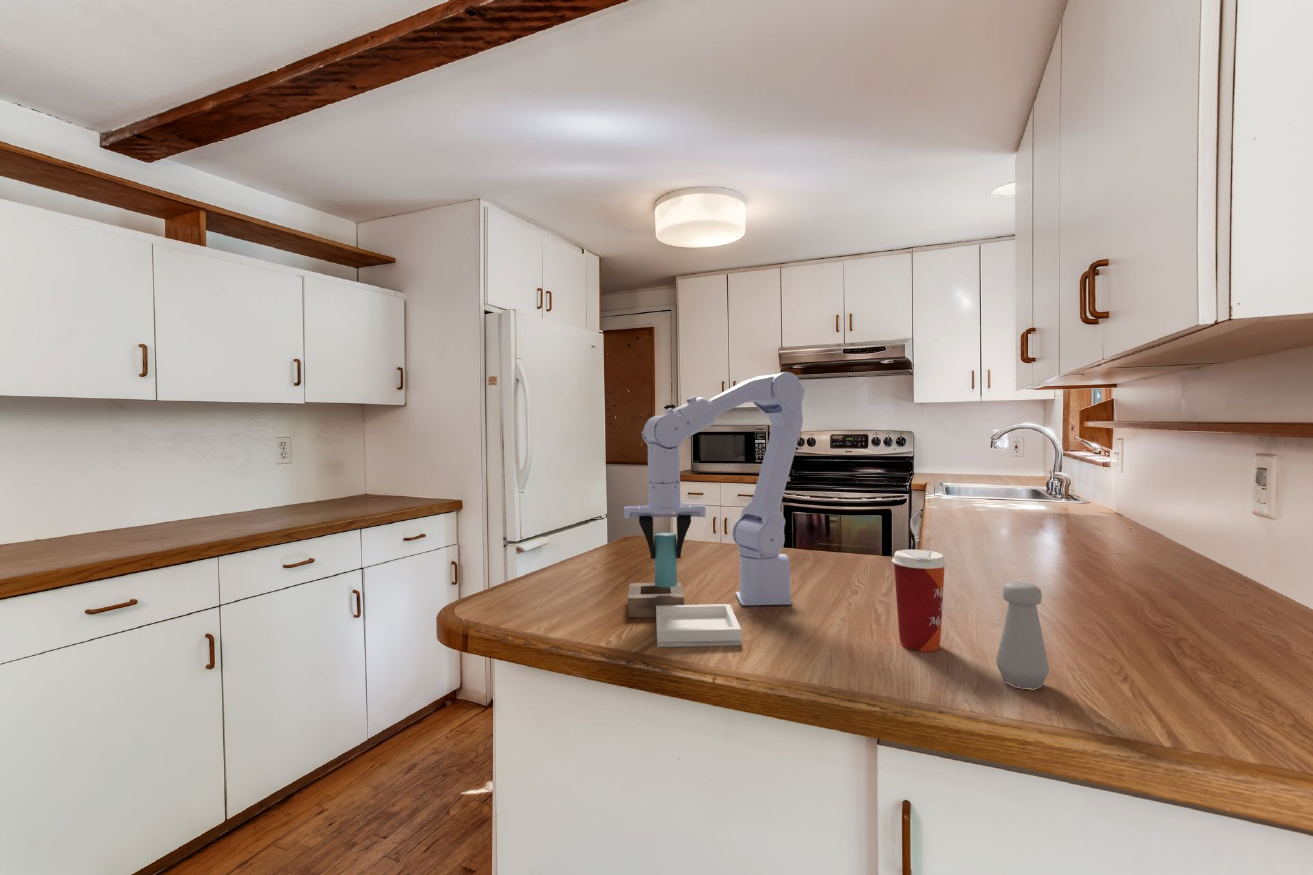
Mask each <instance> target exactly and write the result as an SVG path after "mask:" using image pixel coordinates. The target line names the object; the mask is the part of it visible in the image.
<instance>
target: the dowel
mask: <svg viewBox="0 0 1313 875" xmlns="http://www.w3.org/2000/svg"><path fill="white" fill-rule="evenodd" d="M653 539H654V551H655V559H654V583H655V586H657V587H665V588H666V587H674V586H676V585H677V582H678V565H677V564H678V562H677V560H678V558H677V549H676V546H677V533H674V532H673V533H672V532H658V533H655V534H654V533H653Z"/></svg>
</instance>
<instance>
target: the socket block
mask: <svg viewBox="0 0 1313 875" xmlns="http://www.w3.org/2000/svg"><path fill="white" fill-rule="evenodd" d="M628 587H629V588H628V597H627V618H629V617H636V618H656V606H664V605H685V595H684V591H683V585H682V582H678V581H677V585H676V586H674V587H666V588H665V587H657V586H655V582H633V583H632V582H631V583H629V586H628Z"/></svg>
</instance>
